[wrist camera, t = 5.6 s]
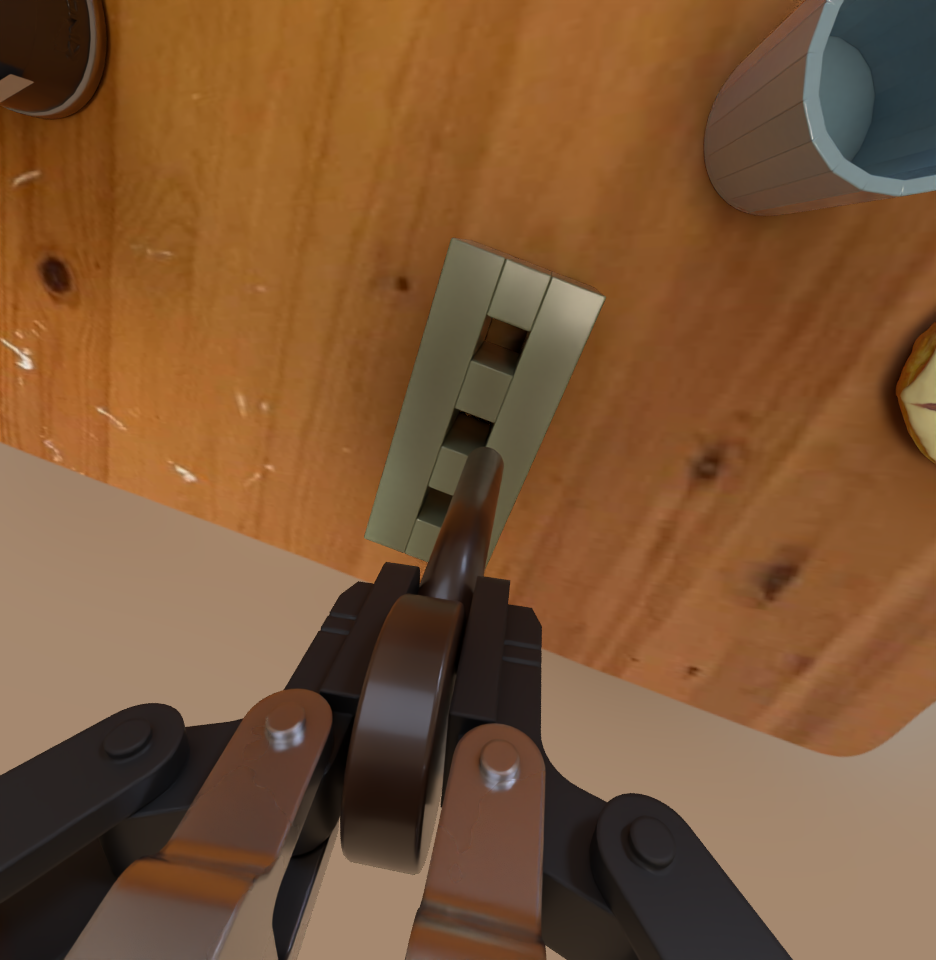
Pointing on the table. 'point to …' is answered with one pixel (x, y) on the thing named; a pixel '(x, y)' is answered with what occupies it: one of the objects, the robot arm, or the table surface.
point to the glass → (829, 110)
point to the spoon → (416, 687)
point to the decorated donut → (920, 393)
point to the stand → (479, 389)
